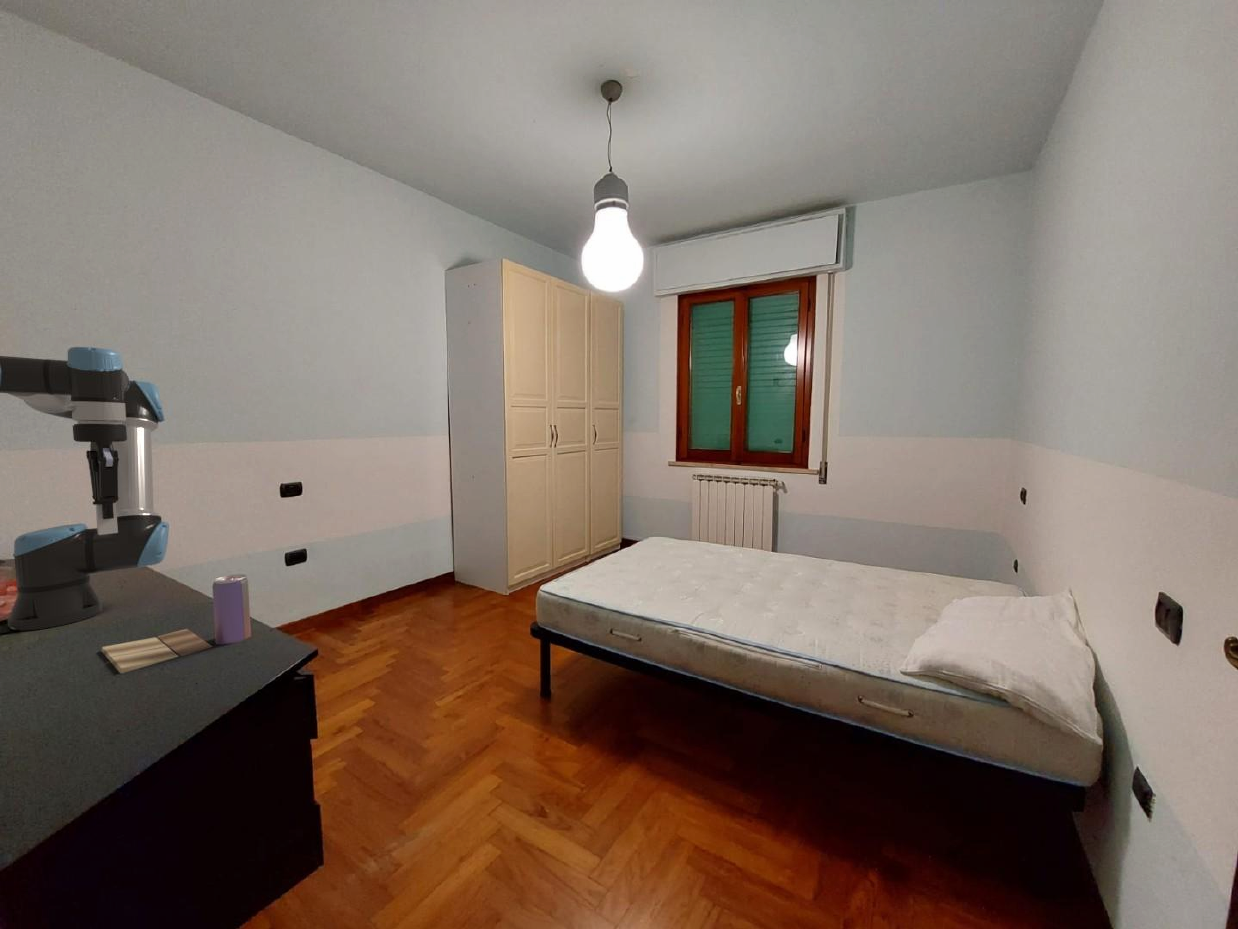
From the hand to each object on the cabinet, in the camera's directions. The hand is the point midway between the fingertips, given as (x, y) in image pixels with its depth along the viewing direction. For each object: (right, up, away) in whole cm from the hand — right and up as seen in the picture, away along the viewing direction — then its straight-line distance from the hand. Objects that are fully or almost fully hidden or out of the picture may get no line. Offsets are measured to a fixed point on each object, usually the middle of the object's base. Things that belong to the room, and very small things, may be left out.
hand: (107, 533), depth 99 cm
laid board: (+15, -25, +1) cm, 29 cm away
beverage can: (+24, -25, +3) cm, 35 cm away
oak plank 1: (+8, -25, -2) cm, 26 cm away
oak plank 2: (+15, -25, -7) cm, 30 cm away
